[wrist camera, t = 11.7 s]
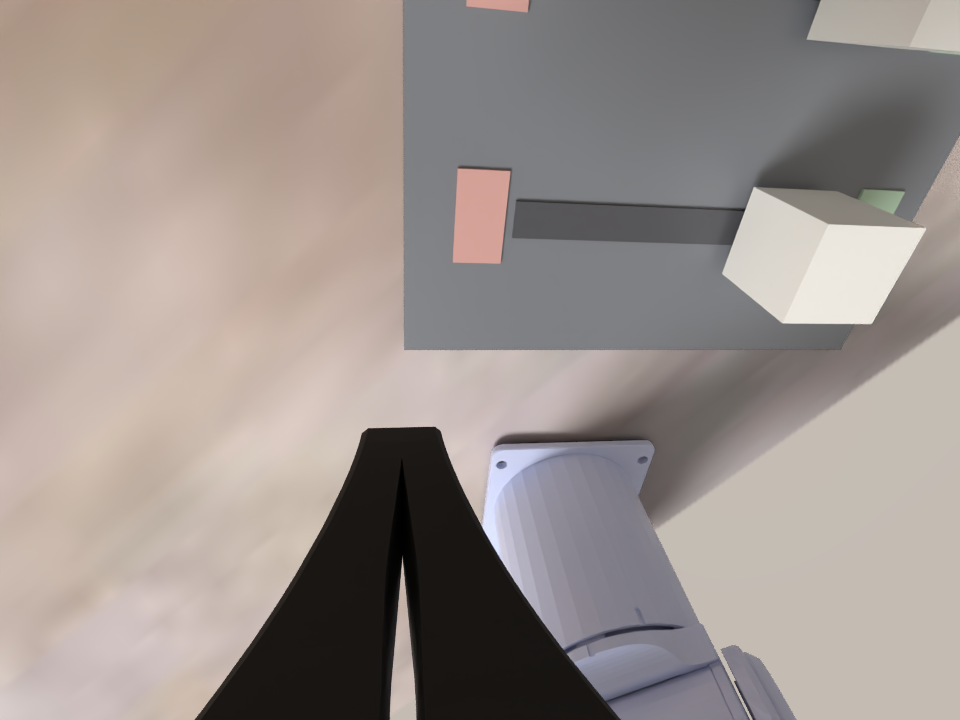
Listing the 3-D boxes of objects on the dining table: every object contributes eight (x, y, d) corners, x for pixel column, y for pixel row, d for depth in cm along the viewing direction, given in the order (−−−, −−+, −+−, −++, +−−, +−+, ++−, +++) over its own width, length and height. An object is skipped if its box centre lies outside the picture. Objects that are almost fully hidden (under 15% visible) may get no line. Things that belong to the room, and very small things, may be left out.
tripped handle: (798, 275, 18) (871, 324, 16) (721, 273, 18) (782, 323, 15) (836, 191, 17) (926, 228, 14) (754, 186, 16) (828, 224, 13)
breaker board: (816, 331, 23) (842, 351, 21) (404, 329, 20) (404, 351, 19) (1080, -182, 14) (1151, -202, 12) (402, -307, 11) (402, -351, 10)
